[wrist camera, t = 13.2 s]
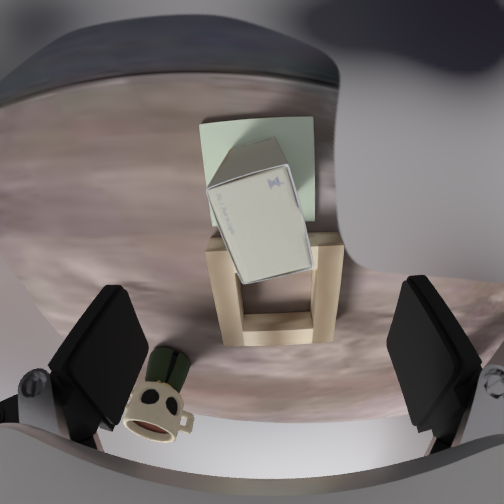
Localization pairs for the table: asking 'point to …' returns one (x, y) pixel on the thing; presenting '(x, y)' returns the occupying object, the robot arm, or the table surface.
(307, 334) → the holder block
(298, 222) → the skincare box
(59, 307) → the table surface
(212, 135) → the sage mat
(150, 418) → the character mug
